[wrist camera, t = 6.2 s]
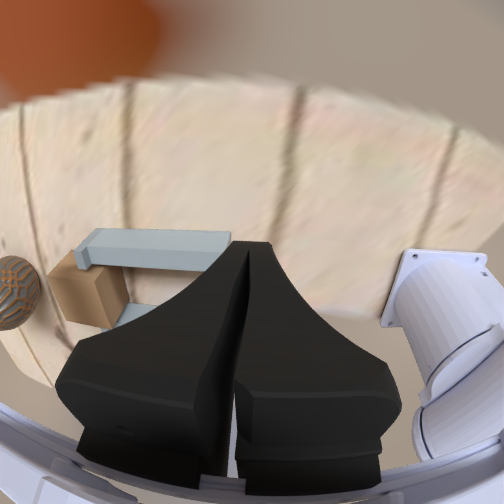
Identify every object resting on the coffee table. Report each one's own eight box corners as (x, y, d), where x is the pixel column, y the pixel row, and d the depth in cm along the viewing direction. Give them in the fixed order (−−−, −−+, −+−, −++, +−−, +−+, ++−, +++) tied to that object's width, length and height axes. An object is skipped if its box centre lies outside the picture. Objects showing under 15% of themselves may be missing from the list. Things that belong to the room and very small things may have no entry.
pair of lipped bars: (230, 231, 20) (222, 259, 17) (233, 324, 25) (228, 356, 22) (96, 228, 21) (72, 251, 18) (120, 313, 25) (106, 339, 22)
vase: (43, 256, 23) (-10, 312, 15) (53, 306, 26) (14, 362, 19) (2, 238, 22) (-49, 284, 15) (13, 286, 26) (-26, 334, 18)
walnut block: (116, 252, 22) (94, 281, 18) (129, 298, 24) (111, 329, 21) (71, 250, 22) (47, 275, 18) (85, 293, 24) (66, 320, 21)
